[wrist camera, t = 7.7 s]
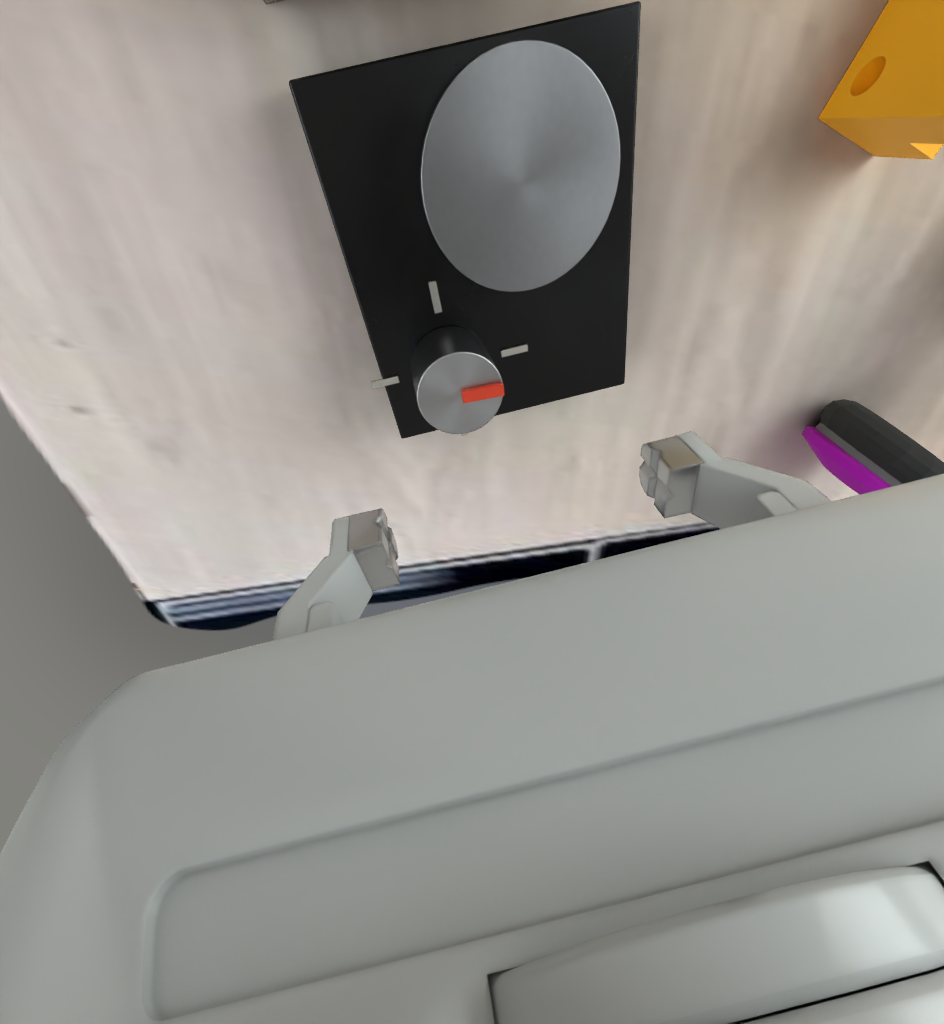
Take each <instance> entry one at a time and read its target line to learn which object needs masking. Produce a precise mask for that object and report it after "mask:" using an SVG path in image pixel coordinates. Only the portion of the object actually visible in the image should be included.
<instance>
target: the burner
mask: <svg viewBox="0 0 944 1024" xmlns="http://www.w3.org/2000/svg"><path fill="white" fill-rule="evenodd" d="M619 171H620V140H619V132H618V126H617V122H616V118H615V114H614V110H613V108H612V105H611V102H610V100H609V97H608V95H607V93H606V91H605V89H604V87H603V86H602V84H601V82H600V80H599V79H598V78H597V76H596V75H595V74H594V72H593V71H592V70H591V69H590V68H589V67H588V66H587V65H586V64H585V63H584V62H583V61H582V60H581V59H580V58H579V57H578V56H576V55H575V54H573V53H572V52H571V51H569V50H567V49H565V48H563V47H561V46H559V45H557V44H555V43H551V42H547V41H543V40H534V39H522V40H514V41H509V42H506V43H503V44H500V45H497V46H495V47H493V48H491V49H489V50H487V51H485V52H483V53H481V54H480V55H478V56H477V57H476V58H474V59H473V60H472V61H470V62H469V63H468V64H467V65H466V66H465V67H464V68H463V69H462V70H461V71H460V72H459V73H458V74H457V75H456V76H455V77H454V78H453V80H452V81H451V82H450V84H449V85H448V86H447V88H446V89H445V90H444V92H443V94H442V96H441V97H440V99H439V101H438V103H437V104H436V106H435V109H434V111H433V114H432V116H431V118H430V121H429V124H428V127H427V131H426V134H425V137H424V142H423V148H422V154H421V165H420V185H421V195H422V202H423V207H424V211H425V215H426V218H427V221H428V224H429V227H430V229H431V232H432V234H433V236H434V238H435V240H436V242H437V244H438V246H439V247H440V249H441V250H442V252H443V253H444V254H445V256H446V257H447V259H448V260H449V261H450V262H451V263H452V264H453V265H454V266H455V268H456V269H458V270H459V271H460V272H461V273H462V274H464V275H465V276H466V277H468V278H469V279H471V280H472V281H474V282H476V283H478V284H480V285H482V286H485V287H487V288H491V289H494V290H498V291H507V292H520V291H526V290H532V289H535V288H538V287H541V286H544V285H546V284H548V283H550V282H553V281H554V280H556V279H558V278H559V277H561V276H562V275H564V274H565V273H567V272H568V271H569V270H570V269H571V268H573V267H574V266H575V265H576V264H577V263H578V262H579V261H580V260H581V259H582V258H583V257H584V256H585V254H586V253H587V252H588V251H589V249H590V248H591V247H592V246H593V244H594V242H595V241H596V239H597V238H598V236H599V235H600V233H601V231H602V229H603V227H604V225H605V223H606V221H607V218H608V216H609V213H610V211H611V208H612V205H613V202H614V198H615V195H616V191H617V185H618V179H619Z"/></svg>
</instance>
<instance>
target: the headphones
mask: <svg viewBox="0 0 944 1024" xmlns="http://www.w3.org/2000/svg"><path fill="white" fill-rule="evenodd" d="M802 435H803V436H804V438H805V439H806V441H807V442H808V444H809V445H810V447H811V448H812V450H813V451H814V453H815V454H816V455H817V457H818V458H819V460H820V461H821V463H822V464H823V466H824V467H825V468H826V469H828V470H829V471H830V472H831V473H832V474H833V475H835V476H836V477H837V478H838V479H840V480H841V481H842V482H843V483H845V484H846V485H847V486H849V487H850V488H851V489H853V490H854V491H856V492H857V493H859V494H860V495H861V494H865V493H869V492H873V491H877V490H881V489H885V488H889V487H893V486H897V485H901V484H904V483H908V482H912V481H916V480H920V479H924V478H928V477H932V476H936V475H940V474H944V462H942V461H941V460H940V459H938V458H937V457H936V456H935V455H933V454H932V453H931V452H929V451H928V450H926V449H925V448H924V447H922V446H921V445H920V444H918V443H917V442H915V441H914V440H913V439H911V438H910V437H908V436H907V435H906V434H904V433H903V432H901V431H900V430H898V429H897V428H896V427H894V426H893V425H891V424H890V423H888V422H887V421H885V420H884V419H882V418H881V417H879V416H878V415H876V414H875V413H873V412H872V411H870V410H869V409H867V408H865V407H864V406H862V405H861V404H859V403H857V402H854V401H849V400H838V401H833V402H831V403H830V404H829V405H827V406H826V407H825V409H824V410H823V412H822V415H821V422H820V423H819V424H818V425H817V426H816V427H810V426H807V427H806V428H805V430H804V431H803V433H802Z"/></svg>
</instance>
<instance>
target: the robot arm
mask: <svg viewBox="0 0 944 1024" xmlns="http://www.w3.org/2000/svg"><path fill="white" fill-rule="evenodd" d="M641 457H642V458H643V459H644V462H643V463H642V465H641V466H640V470H639V477H640V482H641V485H642V488H643V490H644V491H645V493H646V494H647V496H650V497H652V498H655V500H654V505H655V506H656V508H657V509H658V510H659V512H660V513H661V514H662V516H663V517H664V518H668V517H672V516H677V515H681V514H686V513H690V512H692V514H693V515H695V516H697V517H699V518H701V519H703V520H705V521H707V522H709V523H711V524H713V525H715V526H716V527H718V528H720V530H716V531H712V532H708V533H704V534H700V535H696V536H692V537H688V538H684V539H680V540H676V541H672V542H668V543H664V544H660V545H656V546H652V547H648V548H644V549H640V550H636V551H632V552H628V553H624V554H620V555H616V556H612V557H608V558H604V559H600V560H596V561H592V562H588V563H584V564H580V565H576V566H572V567H568V568H564V569H560V570H556V571H552V572H548V573H544V574H540V575H536V576H532V577H528V578H524V579H520V580H516V581H512V582H508V583H503V584H500V585H496V586H491V587H487V588H483V589H479V590H475V591H471V592H467V593H463V594H459V595H455V596H451V597H447V598H443V599H440V600H435V601H431V602H427V603H423V604H419V605H415V606H411V607H407V608H403V609H399V610H395V611H391V612H387V613H383V614H379V615H375V616H371V617H367V618H363V619H359V618H360V616H361V614H362V612H363V610H364V609H365V607H366V605H367V603H368V601H369V600H370V598H371V596H372V594H373V591H376V590H380V589H383V588H387V587H391V586H394V585H398V584H400V581H399V567H398V565H397V562H396V560H397V558H398V550H397V545H396V541H395V537H394V534H393V532H392V529H391V528H389V527H388V525H387V517H386V514H385V512H384V510H383V509H382V508H381V509H376V510H372V511H368V512H363V513H359V514H354V515H351V516H346V517H342V518H338V519H334V521H333V523H332V532H331V543H330V553H329V556H327V557H324V559H323V560H322V561H321V562H320V563H319V565H318V566H317V567H316V568H315V569H314V570H313V572H312V573H311V574H310V575H309V576H308V577H307V579H306V580H305V581H304V582H303V583H302V584H301V586H300V587H299V588H298V589H297V590H296V592H295V593H294V594H293V595H292V596H291V597H290V599H289V600H288V601H287V602H286V603H285V604H284V606H283V607H282V608H281V609H280V610H279V611H278V613H277V618H276V624H275V629H274V634H273V639H272V641H271V642H267V643H262V644H258V645H254V646H251V647H246V648H242V649H239V650H234V651H230V652H226V653H223V654H218V655H214V656H210V657H206V658H202V659H199V660H195V661H190V662H186V663H182V664H178V665H173V666H169V667H165V668H160V669H156V670H152V671H148V672H145V673H142V674H139V675H137V676H134V677H132V678H130V679H129V680H127V681H126V682H125V683H123V684H122V685H121V686H120V687H119V688H118V689H116V690H115V691H114V692H113V693H111V694H110V695H109V696H108V697H107V698H106V699H105V700H104V701H103V702H102V703H101V704H99V705H98V706H97V707H96V708H95V709H94V710H93V711H92V712H91V713H90V714H89V715H88V716H86V717H85V718H84V719H83V720H82V721H81V722H80V723H79V724H78V725H77V726H76V727H75V728H74V729H73V730H72V731H71V732H70V733H69V734H68V735H67V736H66V737H65V739H64V740H63V742H62V743H61V745H60V746H59V747H58V749H57V750H56V752H55V754H54V755H53V757H52V758H51V760H50V761H49V763H48V765H47V766H46V768H45V770H44V772H43V774H42V776H41V777H40V779H39V781H38V783H37V785H36V787H35V788H34V790H33V792H32V794H31V796H30V798H29V800H28V801H27V803H26V805H25V807H24V809H23V811H22V813H21V815H20V817H19V818H18V820H17V822H16V824H15V826H14V829H13V830H12V832H11V834H10V836H9V838H8V840H7V842H6V844H5V846H4V848H3V850H2V852H1V854H0V1024H944V474H940V475H936V476H932V477H928V478H924V479H920V480H916V481H912V482H908V483H904V484H901V485H897V486H893V487H889V488H885V489H881V490H877V491H873V492H869V493H865V494H861V495H857V496H853V497H849V498H845V499H841V500H837V501H833V502H832V501H831V500H830V499H828V498H827V497H826V496H825V495H824V494H822V493H821V492H820V491H819V490H818V489H816V488H815V487H814V486H813V485H812V484H810V483H809V482H808V481H805V480H802V479H798V478H795V477H791V476H788V475H785V474H781V473H778V472H774V471H771V470H768V469H764V468H761V467H757V466H754V465H751V464H747V463H744V462H740V461H737V460H734V459H730V458H723V459H722V458H721V457H720V456H719V455H718V454H717V453H716V452H715V451H714V450H713V449H712V448H711V447H710V446H708V445H707V444H706V443H705V442H704V441H703V440H702V439H701V438H700V437H699V436H698V435H697V434H696V433H695V432H692V431H690V432H686V433H682V434H679V435H675V436H673V437H669V438H665V439H661V440H657V441H653V442H649V443H645V444H643V445H642V448H641ZM358 619H359V620H358Z"/></svg>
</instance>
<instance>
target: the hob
mask: <svg viewBox="0 0 944 1024" xmlns="http://www.w3.org/2000/svg"><path fill="white" fill-rule="evenodd" d="M640 9H641V3H640V2H639V1H637V2H633V3H628V4H624V5H620V6H615V7H611V8H606V9H602V10H598V11H593V12H589V13H584V14H580V15H576V16H571V17H567V18H562V19H558V20H553V21H549V22H545V23H540V24H536V25H531V26H527V27H523V28H518V29H514V30H509V31H505V32H500V33H496V34H492V35H487V36H483V37H478V38H474V39H470V40H465V41H461V42H456V43H452V44H448V45H443V46H439V47H434V48H430V49H425V50H421V51H417V52H412V53H408V54H403V55H399V56H395V57H390V58H386V59H381V60H377V61H372V62H368V63H364V64H359V65H355V66H350V67H346V68H342V69H337V70H333V71H328V72H324V73H320V74H315V75H311V76H306V77H302V78H297V79H293V80H290V81H289V86H290V89H291V92H292V95H293V99H294V102H295V105H296V108H297V111H298V114H299V117H300V121H301V124H302V127H303V130H304V133H305V136H306V139H307V143H308V146H309V149H310V152H311V155H312V158H313V161H314V165H315V168H316V171H317V174H318V177H319V180H320V183H321V187H322V190H323V193H324V196H325V199H326V202H327V205H328V209H329V212H330V215H331V218H332V221H333V224H334V228H335V231H336V234H337V237H338V240H339V243H340V246H341V250H342V253H343V256H344V259H345V262H346V265H347V268H348V272H349V275H350V278H351V281H352V284H353V287H354V290H355V294H356V297H357V300H358V303H359V306H360V309H361V312H362V316H363V319H364V322H365V325H366V328H367V331H368V335H369V338H370V341H371V344H372V347H373V350H374V353H375V357H376V360H377V363H378V366H379V369H380V372H381V375H382V379H379V380H375V381H371V384H372V387H373V389H375V388H379V387H383V386H385V388H386V391H387V394H388V397H389V401H390V404H391V407H392V410H393V413H394V416H395V419H396V423H397V426H398V429H399V432H400V435H401V438H407V437H411V436H415V435H419V434H423V433H427V432H431V431H435V430H438V429H436V428H435V427H433V426H432V425H430V424H429V423H428V422H427V421H426V420H425V418H424V417H423V415H422V414H421V412H420V410H419V407H418V403H417V398H416V393H415V388H414V383H413V378H412V373H411V359H412V355H413V352H414V350H415V348H416V346H417V344H418V343H419V342H420V340H421V339H422V338H423V337H424V336H426V335H427V334H428V333H430V332H431V331H433V330H436V329H438V328H442V327H447V326H455V327H461V328H464V329H467V330H469V331H471V332H472V333H474V334H475V335H476V336H477V337H478V338H479V339H480V340H481V341H482V343H483V344H484V346H485V348H486V350H487V352H488V353H489V355H490V357H491V359H492V361H493V362H494V364H495V366H496V368H497V369H498V371H499V373H500V375H501V378H502V382H503V385H504V396H503V398H502V402H501V405H500V407H499V409H498V411H497V413H496V414H495V415H494V416H496V415H500V414H504V413H508V412H512V411H516V410H520V409H524V408H528V407H532V406H536V405H540V404H544V403H548V402H552V401H556V400H560V399H564V398H568V397H572V396H576V395H580V394H584V393H589V392H593V391H597V390H601V389H605V388H609V387H613V386H617V385H621V384H624V380H625V357H626V333H627V310H628V287H629V264H630V241H631V217H632V194H633V171H634V148H635V125H636V101H637V78H638V55H639V32H640ZM522 39H534V40H543V41H547V42H551V43H555V44H557V45H559V46H561V47H563V48H565V49H567V50H569V51H571V52H572V53H573V54H575V55H576V56H578V57H579V58H580V59H581V60H582V61H583V62H584V63H585V64H586V65H587V66H588V67H589V68H590V69H591V70H592V71H593V72H594V74H595V75H596V76H597V78H598V79H599V80H600V82H601V84H602V86H603V87H604V89H605V91H606V93H607V95H608V97H609V100H610V102H611V105H612V108H613V110H614V114H615V118H616V122H617V126H618V132H619V140H620V171H619V179H618V185H617V191H616V195H615V198H614V202H613V205H612V208H611V211H610V213H609V216H608V218H607V221H606V223H605V225H604V227H603V229H602V231H601V233H600V235H599V236H598V238H597V239H596V241H595V242H594V244H593V246H592V247H591V248H590V249H589V251H588V252H587V253H586V254H585V256H584V257H583V258H582V259H581V260H580V261H579V262H578V263H577V264H576V265H575V266H574V267H573V268H571V269H570V270H569V271H568V272H567V273H565V274H564V275H562V276H561V277H559V278H558V279H556V280H554V281H553V282H550V283H548V284H546V285H544V286H541V287H538V288H535V289H532V290H526V291H520V292H507V291H498V290H494V289H491V288H487V287H485V286H482V285H480V284H478V283H476V282H474V281H472V280H471V279H469V278H468V277H466V276H465V275H464V274H462V273H461V272H460V271H459V270H458V269H456V268H455V266H454V265H453V264H452V263H451V262H450V261H449V260H448V259H447V257H446V256H445V254H444V253H443V252H442V250H441V249H440V247H439V246H438V244H437V242H436V240H435V238H434V236H433V234H432V232H431V229H430V227H429V224H428V221H427V218H426V215H425V211H424V207H423V202H422V195H421V185H420V165H421V154H422V148H423V142H424V137H425V134H426V131H427V127H428V124H429V121H430V118H431V116H432V114H433V111H434V109H435V106H436V104H437V103H438V101H439V99H440V97H441V96H442V94H443V92H444V90H445V89H446V88H447V86H448V85H449V84H450V82H451V81H452V80H453V78H454V77H455V76H456V75H457V74H458V73H459V72H460V71H461V70H462V69H463V68H464V67H465V66H466V65H467V64H468V63H469V62H470V61H472V60H473V59H474V58H476V57H477V56H478V55H480V54H481V53H483V52H485V51H487V50H489V49H491V48H493V47H495V46H497V45H500V44H503V43H506V42H509V41H514V40H522ZM466 434H468V433H463V434H461V435H466Z"/></svg>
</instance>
